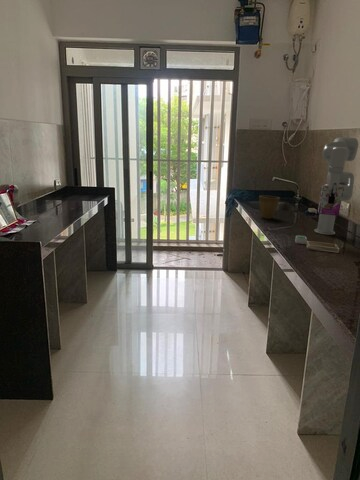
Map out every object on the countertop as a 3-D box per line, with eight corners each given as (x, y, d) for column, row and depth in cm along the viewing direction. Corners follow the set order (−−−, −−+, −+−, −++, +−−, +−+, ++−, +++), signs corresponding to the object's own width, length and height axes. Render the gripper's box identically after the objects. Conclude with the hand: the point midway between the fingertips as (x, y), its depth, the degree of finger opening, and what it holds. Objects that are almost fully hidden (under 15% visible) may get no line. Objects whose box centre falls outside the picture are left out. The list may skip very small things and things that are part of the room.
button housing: (295, 240, 207) (295, 235, 206) (305, 241, 206) (305, 236, 205) (295, 243, 202) (296, 237, 201) (306, 244, 201) (306, 239, 200)
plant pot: (277, 220, 261) (280, 198, 257) (257, 218, 263) (259, 197, 259) (275, 216, 275) (278, 196, 271) (256, 214, 277) (258, 194, 273)
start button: (297, 239, 206) (297, 235, 205) (303, 240, 205) (304, 236, 204) (297, 241, 202) (298, 236, 202) (304, 242, 202) (305, 237, 201)
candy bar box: (318, 214, 205) (322, 185, 200) (317, 212, 209) (322, 184, 205) (339, 216, 202) (344, 187, 197) (337, 214, 207) (343, 186, 202)
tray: (305, 244, 200) (306, 240, 200) (335, 248, 197) (336, 244, 196) (307, 249, 191) (308, 245, 191) (338, 252, 188) (339, 248, 187)
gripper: (326, 168, 207) (321, 199, 213) (331, 171, 192) (325, 204, 197) (340, 169, 206) (334, 200, 211) (345, 172, 190) (339, 205, 195)
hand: (330, 202), depth 204 cm, fingers closed on candy bar box, 5 cm apart
